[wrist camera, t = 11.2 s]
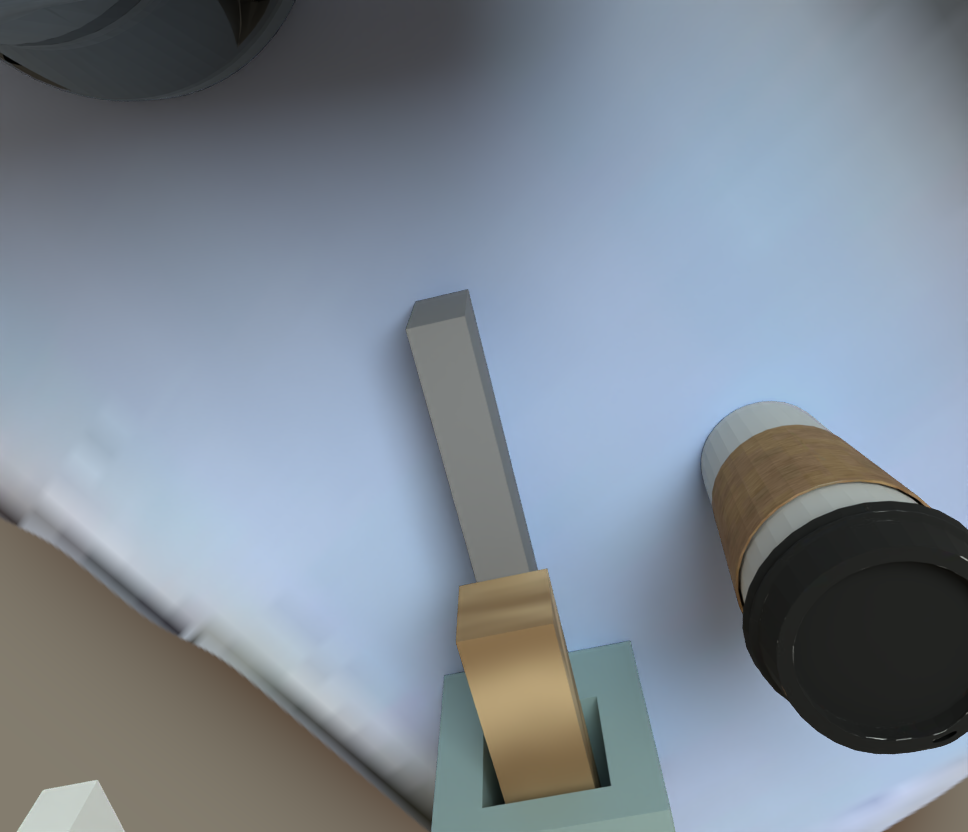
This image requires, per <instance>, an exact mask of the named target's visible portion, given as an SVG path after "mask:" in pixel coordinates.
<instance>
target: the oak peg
mask: <svg viewBox="0 0 968 832" xmlns="http://www.w3.org/2000/svg"><path fill="white" fill-rule="evenodd" d="M456 645H457V648H458V651H459V654H460V658H461V661H462V664H463V667H464V671H465V674H466V677H467V680H468V684H469V687H470V690H471V693H472V697H473V700H474V703H475V707H476V710H477V713H478V716H479V720H480V723H481V726H482V729H483V733H484V736H485V739H486V742H487V746H488V749H489V752H490V755H491V759H492V762H493V765H494V768H495V772H496V775H497V778H498V781H499V785H500V788H501V791H502V794H503V798H504V801H505V804H509V803H515V802H520V801H526V800H532V799H538V798H544V797H550V796H556V795H561V794H567V793H573V792H579V791H585V790H591V789H597V788H601V784H600V780H599V776H598V772H597V767H596V763H595V759H594V755H593V751H592V747H591V743H590V739H589V735H588V731H587V727H586V723H585V719H584V715H583V711H582V707H581V703H580V699H579V695H578V691H577V687H576V683H575V679H574V675H573V671H572V667H571V663H570V659H569V655H568V651H567V646H566V642H565V638H564V634H563V630H562V626H561V622H560V618H559V614H558V610H557V606H556V602H555V598H554V594H553V590H552V586H551V582H550V578H549V574H548V570H547V569H542V570H537V571H532V572H527V573H522V574H517V575H512V576H507V577H502V578H497V579H492V580H487V581H482V582H477V583H472V584H467V585H462V586H459V598H458V615H457V631H456Z"/></svg>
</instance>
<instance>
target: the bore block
mask: <svg viewBox="0 0 968 832" xmlns="http://www.w3.org/2000/svg"><path fill="white" fill-rule="evenodd" d="M568 655H569V659H570V663H571V667H572V671H573V675H574V679H575V683H576V687H577V691H578V695H579V699H580V703H581V707H582V711H583V715H584V719H585V723H586V727H587V731H588V735H589V739H590V743H591V747H592V751H593V755H594V759H595V763H596V767H597V772H598V776H599V780H600V784H601V788H597V789H591V790H585V791H579V792H573V793H567V794H561V795H556V796H550V797H544V798H538V799H532V800H526V801H520V802H515V803H509V804H505V801H504V798H503V794H502V791H501V788H500V785H499V781H498V778H497V775H496V772H495V768H494V765H493V762H492V759H491V755H490V752H489V749H488V746H487V742H486V739H485V736H484V733H483V729H482V726H481V723H480V720H479V716H478V713H477V710H476V707H475V703H474V700H473V697H472V693H471V690H470V687H469V684H468V680H467V677H466V674H465V672H461V673H455V674H450V675H445V676H444V686H443V698H442V710H441V721H440V733H439V745H438V757H437V769H436V781H435V793H434V804H433V816H432V828H431V832H675V828H674V823H673V818H672V813H671V808H670V804H669V800H668V796H667V792H666V788H665V783H664V779H663V775H662V771H661V767H660V763H659V758H658V754H657V750H656V746H655V742H654V737H653V733H652V729H651V725H650V721H649V717H648V712H647V708H646V704H645V700H644V696H643V692H642V687H641V683H640V679H639V675H638V671H637V667H636V662H635V658H634V654H633V650H632V646H631V642H630V641H626V642H621V643H616V644H610V645H605V646H600V647H594V648H589V649H584V650H578V651H573V652H568Z"/></svg>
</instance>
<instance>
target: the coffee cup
mask: <svg viewBox="0 0 968 832" xmlns="http://www.w3.org/2000/svg"><path fill="white" fill-rule="evenodd" d="M701 471H702V475H703V480H704V484H705V487H706V490H707V493H708V496H709V499H710V502H711V505H712V508H713V513H714V518H715V521H716V525H717V528H718V532H719V536H720V539H721V543H722V546H723V550H724V554H725V557H726V561H727V564H728V568H729V572H730V575H731V579H732V582H733V586H734V590H735V593H736V597H737V600H738V604H739V607H740V609H741V611H742V613H743V633H744V638H745V642H746V647H747V649H748V651H749V654H750V656H751V658H752V660H753V662H754V664H755V665H756V667H757V668H758V669H759V670H760V672H761V674H762V675H763V677H764V678H765V679H766V680H767V681H768V683H769V684H770V685H771V686H772V687H773V689H774V690H775V691H776V692H778V693H779V694H780V695H781V696H783V697H784V698H785V699H787V700H788V701H789V702H790V703H791V705H792V706H793V707H794V708H795V710H796V711H797V712H798V713H799V715H800V716H801V717H802V718H803V719H804V720H805V721H806V722H807V723H809V724H810V725H811V726H812V727H813V728H814V729H815V730H817V731H818V732H819V733H821V734H822V735H824V736H826V737H827V738H829V739H831V740H832V741H834V742H836V743H838V744H840V745H843V746H846V747H848V748H851V749H853V750H857V751H862V752H868V753H873V754H900V753H910V752H916V751H922V750H927V749H932V748H937V747H941V746H944V745H947V744H949V743H951V742H953V741H955V740H957V739H958V738H959V737H961V736H962V735H964V734H965V733H966V732H968V529H966V528H965V527H964V526H963V525H962V524H961V523H960V522H959V521H957V520H955V519H953V518H951V517H950V516H948V515H946V514H944V513H942V512H941V511H939V510H936V509H932V508H931V507H930V506H928V505H927V504H926V503H925V502H924V501H923V500H922V499H921V498H919V497H918V496H917V495H916V494H914V493H913V492H912V491H910V490H909V489H908V488H906V487H905V486H904V485H902V484H901V483H900V482H898V481H897V480H896V479H894V478H893V477H892V476H890V475H889V474H888V473H886V472H885V471H884V470H882V469H881V468H880V467H878V466H877V465H876V464H874V463H873V462H872V461H870V460H869V459H868V458H866V457H865V456H864V455H862V454H861V453H860V452H858V451H857V450H856V449H854V448H853V447H852V446H850V445H849V444H848V443H846V442H845V441H844V440H842V439H841V438H840V437H838V436H836V435H834V434H833V433H832V432H831V431H829V430H828V429H827V428H826V427H825V426H823V425H822V424H821V423H820V422H818V421H817V420H816V419H815V418H814V417H812V416H811V415H810V414H809V413H807V412H806V411H804V410H802V409H800V408H798V407H797V406H794V405H791V404H788V403H785V402H776V401H766V402H758V403H754V404H750V405H746V406H744V407H742V408H739V409H737V410H735V411H734V412H732V413H731V414H729V415H728V416H726V417H725V418H724V419H723V420H722V421H721V422H720V423H719V424H718V425H716V427H715V428H714V429H713V431H712V432H711V434H710V435H709V436H708V439H707V441H706V443H705V445H704V448H703V452H702V457H701Z"/></svg>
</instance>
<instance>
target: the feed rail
mask: <svg viewBox="0 0 968 832" xmlns="http://www.w3.org/2000/svg"><path fill="white" fill-rule="evenodd" d="M406 332H407V336H408V339H409V343H410V347H411V350H412V354H413V357H414V361H415V364H416V368H417V371H418V375H419V379H420V382H421V386H422V389H423V393H424V396H425V400H426V404H427V407H428V411H429V414H430V418H431V421H432V425H433V428H434V432H435V436H436V439H437V443H438V446H439V450H440V453H441V457H442V461H443V464H444V468H445V471H446V475H447V478H448V482H449V485H450V489H451V493H452V496H453V500H454V503H455V507H456V510H457V514H458V518H459V521H460V525H461V528H462V532H463V535H464V539H465V542H466V546H467V550H468V553H469V557H470V560H471V564H472V567H473V571H474V575H475V578H476V582H482V581H487V580H492V579H497V578H502V577H507V576H512V575H517V574H522V573H527V572H532V571H537V570H538V569H537V565H536V561H535V557H534V553H533V549H532V545H531V541H530V537H529V533H528V529H527V525H526V521H525V516H524V512H523V508H522V504H521V500H520V496H519V492H518V488H517V484H516V480H515V476H514V472H513V468H512V464H511V460H510V456H509V452H508V448H507V444H506V440H505V436H504V432H503V428H502V424H501V420H500V416H499V412H498V408H497V404H496V400H495V396H494V392H493V388H492V384H491V380H490V376H489V372H488V368H487V364H486V360H485V356H484V351H483V347H482V343H481V339H480V335H479V331H478V327H477V323H476V319H475V315H474V311H473V307H472V303H471V299H470V295H469V291H468V289H467V290H463V291H459V292H454V293H450V294H446V295H441V296H437V297H433V298H428V299H424V300H420V301H416V302H415V304H414V307H413V310H412V313H411V316H410V319H409V321H408V324H407V327H406Z"/></svg>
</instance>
